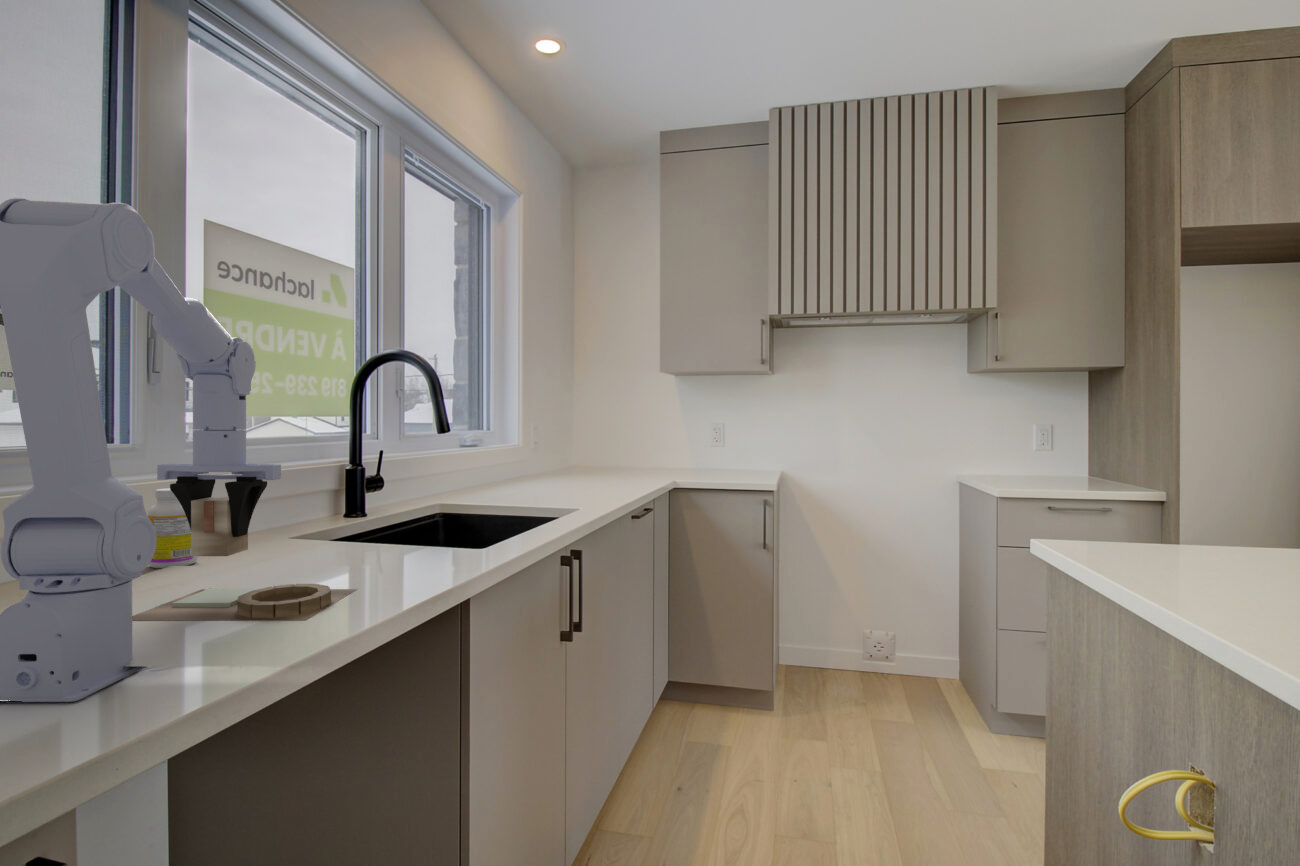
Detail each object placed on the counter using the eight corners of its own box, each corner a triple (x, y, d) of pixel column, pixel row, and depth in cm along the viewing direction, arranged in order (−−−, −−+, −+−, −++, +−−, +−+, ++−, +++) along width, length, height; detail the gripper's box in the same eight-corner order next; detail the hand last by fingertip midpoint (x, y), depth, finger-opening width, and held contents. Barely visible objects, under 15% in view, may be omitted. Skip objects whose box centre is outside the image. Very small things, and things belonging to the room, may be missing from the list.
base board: (305, 630, 74) (305, 607, 74) (120, 631, 74) (120, 607, 74) (357, 597, 88) (357, 578, 88) (201, 598, 88) (201, 578, 88)
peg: (247, 549, 85) (247, 496, 85) (226, 556, 80) (226, 500, 80) (214, 549, 85) (213, 496, 85) (190, 556, 80) (190, 500, 80)
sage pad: (229, 606, 79) (229, 602, 79) (172, 606, 79) (172, 602, 79) (262, 592, 86) (262, 588, 86) (209, 592, 86) (209, 588, 86)
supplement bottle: (162, 561, 111) (162, 487, 111) (205, 560, 112) (204, 486, 112) (139, 570, 104) (138, 491, 104) (184, 568, 105) (184, 490, 105)
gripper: (293, 430, 87) (293, 530, 87) (184, 429, 86) (184, 530, 86) (263, 430, 80) (263, 540, 80) (144, 430, 79) (144, 539, 79)
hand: (220, 535), depth 83 cm, fingers closed on peg, 4 cm apart
